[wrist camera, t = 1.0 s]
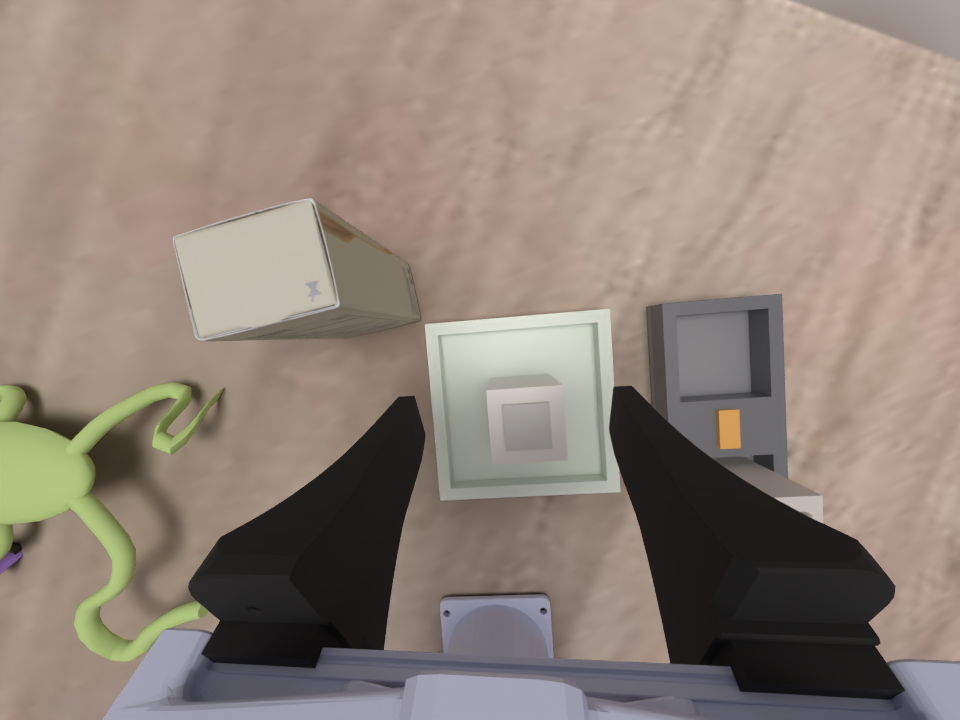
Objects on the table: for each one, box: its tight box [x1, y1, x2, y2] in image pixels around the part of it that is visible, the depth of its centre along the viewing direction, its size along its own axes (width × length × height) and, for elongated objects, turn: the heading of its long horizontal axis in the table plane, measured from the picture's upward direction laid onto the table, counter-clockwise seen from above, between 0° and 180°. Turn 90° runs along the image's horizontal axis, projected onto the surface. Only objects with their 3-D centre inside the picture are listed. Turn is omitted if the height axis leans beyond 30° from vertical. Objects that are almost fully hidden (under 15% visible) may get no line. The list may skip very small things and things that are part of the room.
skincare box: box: [172, 198, 420, 341], centre depth 20 cm, size 6×4×12 cm
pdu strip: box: [647, 294, 788, 478], centre depth 23 cm, size 16×7×3 cm, turn 5°
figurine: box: [0, 382, 224, 661], centre depth 26 cm, size 18×27×6 cm
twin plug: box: [713, 456, 823, 523], centre depth 21 cm, size 4×4×6 cm
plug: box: [486, 374, 568, 465], centre depth 22 cm, size 4×4×6 cm
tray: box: [425, 309, 620, 501], centre depth 24 cm, size 12×12×2 cm
